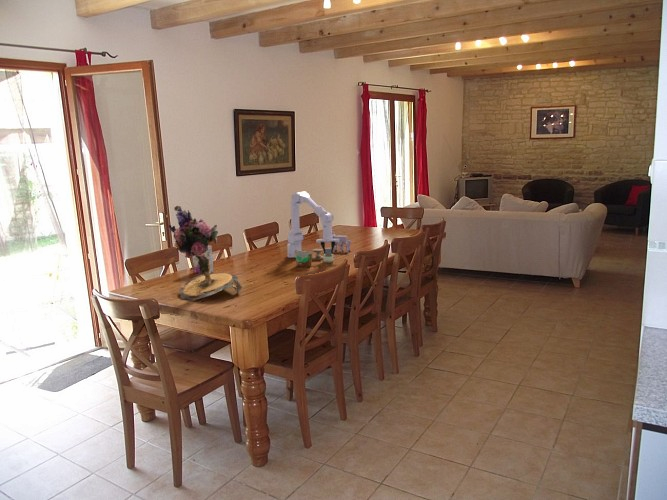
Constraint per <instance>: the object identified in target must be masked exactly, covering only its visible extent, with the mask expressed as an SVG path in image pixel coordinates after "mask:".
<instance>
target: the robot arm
mask: <svg viewBox="0 0 667 500" xmlns="http://www.w3.org/2000/svg"><path fill="white" fill-rule="evenodd" d="M290 198H291V199H290V220H291V221H290V222H291V224H290V225H291V229H289V231H288V236H287V241H288V243H287V244H286V245H287V246H286V248H287V258H296V255H295V254H294V252H295V249H296V250H297V251H303V250H302V243H303V241H304V235H303V230H302V229H300V228H301V226H300V206H301V204H303V203H306V205H308V206H309V207H311V209H312V210H313V212H314V214H315V215H316V216H318V218H320V222H321V225H322V236H323V237H322V238H319V239H316V244H319V243H320V245H321V249H323V253H324V254H325V248H326V247H325V246H326V245H325V244H326V243H330V244H331V246H330V248H331V254H333V255H334V252H333V248H334V245H335V242H339V239H332V232H333V226H332V225H333V221H334V215H333V214H332V213H331V212H328V211H327V210H325V208H323V206H322V205H318V204H317V203H316V202H315V201H314V200H313V199H312V198H311V197H310V194H309V193H308V192H307V191H306V190H304V191H299V192H293V193H292V194H291V197H290ZM324 254H323V255H324Z"/></svg>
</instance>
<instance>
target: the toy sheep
mask: <svg viewBox="0 0 667 500" xmlns="http://www.w3.org/2000/svg"><path fill="white" fill-rule="evenodd" d="M332 239H339V242H335V245H334V248H333V253H335V252H336V251H338V247H339V251H340V253H343V251H344V247H345V251H346V253H348V254H349V252H350V251H351V244H352V240H348V235H336V232H335V231H332Z"/></svg>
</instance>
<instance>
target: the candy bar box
mask: <svg viewBox="0 0 667 500" xmlns="http://www.w3.org/2000/svg"><path fill="white" fill-rule="evenodd" d="M212 248H213V247H212V245H208V249H207V251H206V253H205V254H203V256H204V257H206V258H207V259H208V260H209V262H210V274H213V273H214V272H215V271H214V263H213V261H214V260H213V249H212ZM191 258H192V267H193V273H194V274H201V272H200V267H199V266H200V265H199V264H198V261H199V259H198V258H197V257H196V256H192V257H191Z"/></svg>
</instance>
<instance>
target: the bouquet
mask: <svg viewBox="0 0 667 500" xmlns="http://www.w3.org/2000/svg"><path fill="white" fill-rule="evenodd" d="M173 210H174V211H175V212H176V213H175V216H176V219H177V223H178V226H179V228H178V227H177V228H176V226H175V225H173V226H172V225H171V224H168V229H170V232H172V233H173V239H174V242H175V243H174V244H173V245H174V247H175V248H176V250H177V251H179V252H180V253H182V254H185V255H184V257H185V258H187V259H190V258H192V256H196V257H197V258H198V259H199V261H198V264H199V265H200V266H199V267H200V272H201V273H200V275H197V276H195V277H193V278H191V279H189V280H187V282H186V283H184V284H182V286H181V287H180V288H179V293H178V294H180V298H182V299H181V300H186V299H187V301H189V300H190V302H193V301H196V300H200V299H203V298H206V297H209V296H212V295H215V294H217V293H218V292H221V291H223V290H227V289H229V288H231V287H232V288H233V289H234V290H235V291H236V294H239V292H240V291H241V290H242V289H243V286H242V285H241V284H240V282H239V278H238V276H237V275H235V274H230V273H210V262H209V260H208V259H207V258H206V257H204V256H203V254H205V253H206V251H207V249H208V246H209V244H210V243H211V242H213V243H214V244H218V233H219V231H218V230H217V227H218V226H217V224H214V226H213V227H210V226H208V225H207V223H206V221H204V220H203V219H201V218H200V220H199V221H198V220H197V218H194V219H193V217H192V213H191V211H190V210H187V211H186V210H183V209H182V207H181V205H176V206H174V207H173Z"/></svg>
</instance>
